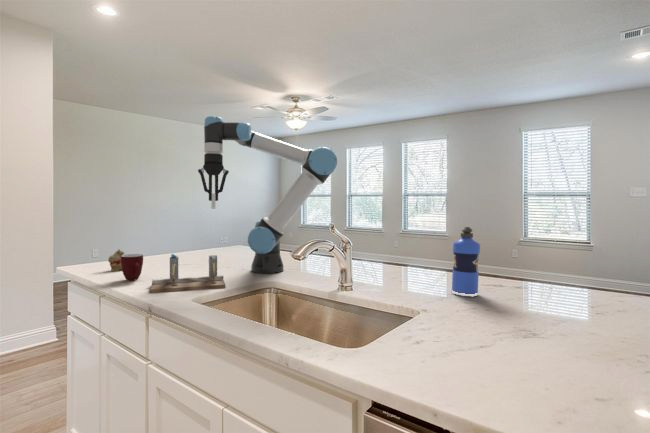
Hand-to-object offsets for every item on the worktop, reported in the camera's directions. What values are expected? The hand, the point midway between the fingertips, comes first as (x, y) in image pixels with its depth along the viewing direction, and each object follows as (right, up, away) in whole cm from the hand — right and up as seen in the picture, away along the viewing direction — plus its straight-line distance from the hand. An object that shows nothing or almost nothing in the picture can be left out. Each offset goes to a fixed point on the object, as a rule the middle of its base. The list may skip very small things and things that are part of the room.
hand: (213, 208), depth 157 cm
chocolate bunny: (-46, -28, +10) cm, 55 cm away
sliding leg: (-9, -27, -19) cm, 35 cm away
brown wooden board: (-4, -30, -18) cm, 35 cm away
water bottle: (+100, -33, -22) cm, 108 cm away
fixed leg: (+4, -27, -14) cm, 31 cm away
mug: (-30, -30, -9) cm, 43 cm away
